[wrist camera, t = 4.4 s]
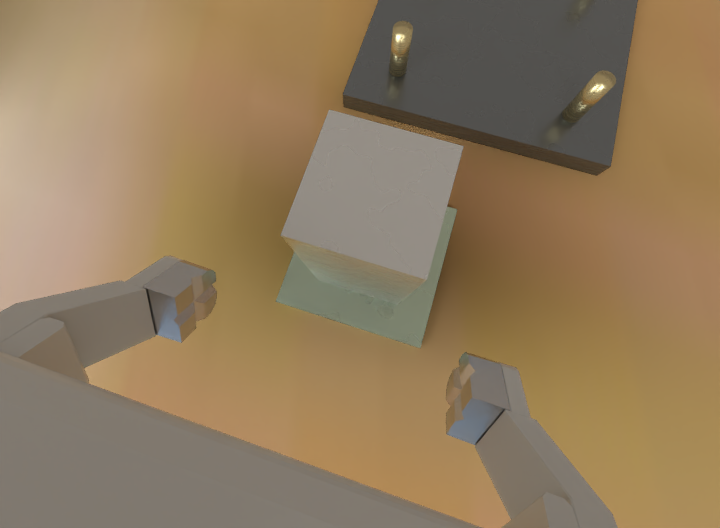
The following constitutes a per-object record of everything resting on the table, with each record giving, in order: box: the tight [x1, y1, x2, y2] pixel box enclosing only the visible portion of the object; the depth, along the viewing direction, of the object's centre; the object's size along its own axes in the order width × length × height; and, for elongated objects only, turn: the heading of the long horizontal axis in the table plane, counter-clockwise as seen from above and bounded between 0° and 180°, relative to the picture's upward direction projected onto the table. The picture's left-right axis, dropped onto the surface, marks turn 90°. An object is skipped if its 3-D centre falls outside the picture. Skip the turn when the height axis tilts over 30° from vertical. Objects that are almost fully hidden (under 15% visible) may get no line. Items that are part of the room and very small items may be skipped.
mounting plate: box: [343, 0, 638, 175], centre depth 22 cm, size 18×18×4 cm
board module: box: [276, 110, 464, 348], centre depth 16 cm, size 9×9×10 cm
